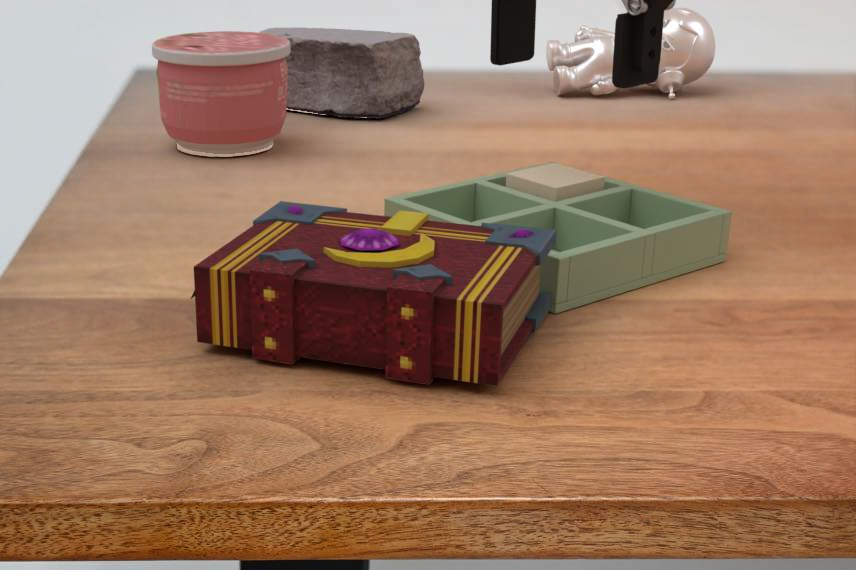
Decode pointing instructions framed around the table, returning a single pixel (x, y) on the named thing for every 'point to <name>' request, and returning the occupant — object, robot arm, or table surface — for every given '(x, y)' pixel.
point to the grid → (589, 232)
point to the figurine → (593, 54)
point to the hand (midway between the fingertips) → (570, 72)
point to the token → (555, 182)
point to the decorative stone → (352, 71)
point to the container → (222, 89)
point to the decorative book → (376, 292)
